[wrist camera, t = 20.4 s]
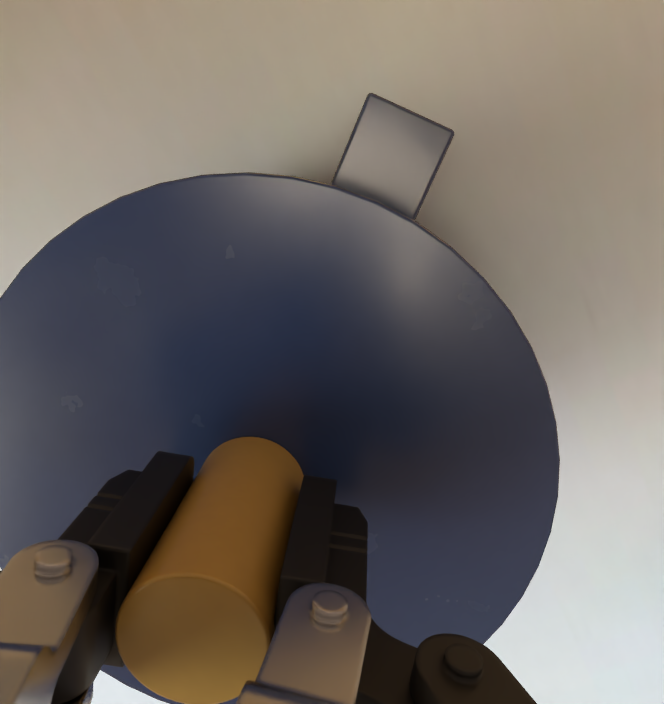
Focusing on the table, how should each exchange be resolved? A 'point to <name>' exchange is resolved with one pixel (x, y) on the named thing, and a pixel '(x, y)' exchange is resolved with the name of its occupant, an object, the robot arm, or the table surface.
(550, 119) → the table surface
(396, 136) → the pot
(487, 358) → the lid
